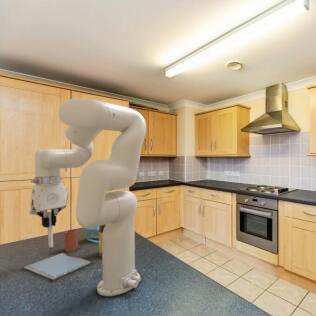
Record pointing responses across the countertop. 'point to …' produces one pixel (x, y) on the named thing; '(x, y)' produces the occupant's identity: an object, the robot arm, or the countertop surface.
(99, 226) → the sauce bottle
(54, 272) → the plate
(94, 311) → the countertop surface
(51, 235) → the stylus
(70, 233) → the pen pot
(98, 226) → the chair
